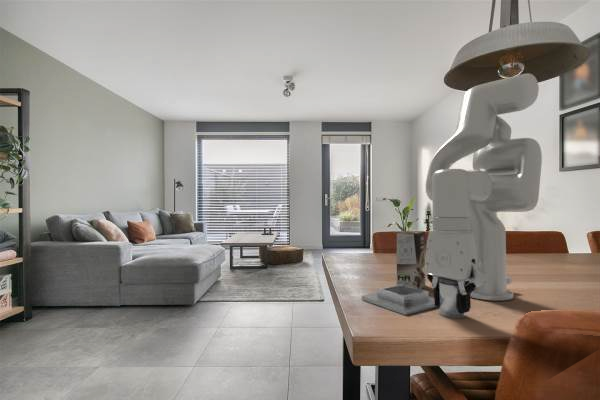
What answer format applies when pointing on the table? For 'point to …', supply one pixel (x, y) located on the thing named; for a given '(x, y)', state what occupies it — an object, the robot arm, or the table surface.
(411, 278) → the coffee box
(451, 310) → the grey jar with lid
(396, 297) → the collar
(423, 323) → the table surface
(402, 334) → the table surface
